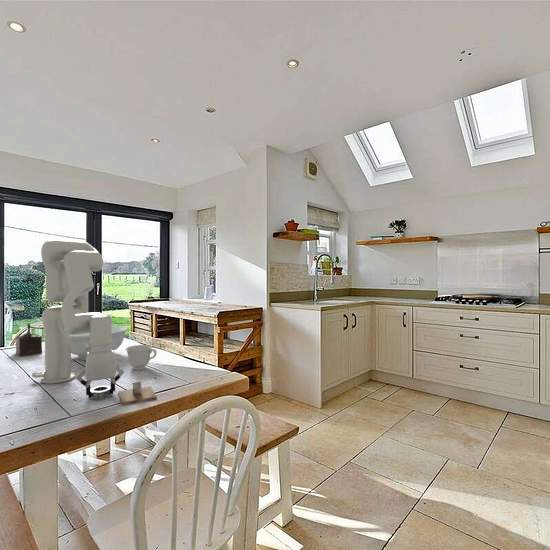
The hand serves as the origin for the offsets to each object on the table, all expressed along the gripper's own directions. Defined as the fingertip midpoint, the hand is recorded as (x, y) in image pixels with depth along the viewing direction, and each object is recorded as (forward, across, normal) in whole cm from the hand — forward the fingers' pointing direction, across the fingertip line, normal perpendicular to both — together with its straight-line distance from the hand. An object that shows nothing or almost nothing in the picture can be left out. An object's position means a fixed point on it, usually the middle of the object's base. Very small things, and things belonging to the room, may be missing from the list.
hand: (100, 394), depth 130 cm
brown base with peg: (+1, +12, -6) cm, 13 cm away
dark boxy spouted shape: (+1, -29, +88) cm, 93 cm away
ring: (+1, 0, 0) cm, 1 cm away
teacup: (+1, +19, +30) cm, 36 cm away
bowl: (+1, 0, +64) cm, 64 cm away
